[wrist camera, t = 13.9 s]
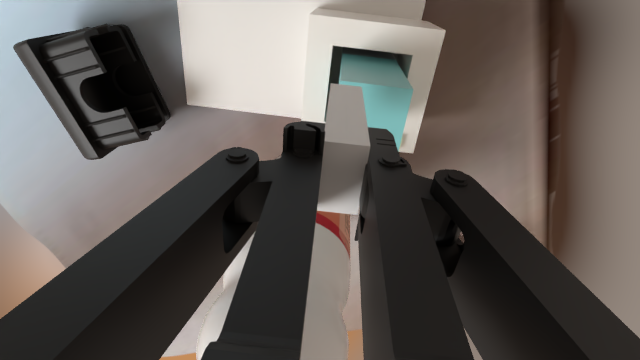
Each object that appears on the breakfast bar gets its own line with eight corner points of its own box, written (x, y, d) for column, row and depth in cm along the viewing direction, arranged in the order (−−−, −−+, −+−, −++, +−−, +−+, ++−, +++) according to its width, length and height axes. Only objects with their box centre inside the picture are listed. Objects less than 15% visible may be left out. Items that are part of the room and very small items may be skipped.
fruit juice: (288, 229, 41) (200, 593, 17) (248, 164, 37) (54, 521, 12) (362, 205, 38) (387, 591, 14) (328, 132, 34) (281, 502, 10)
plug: (342, 44, 29) (340, 80, 19) (390, 50, 29) (413, 89, 18) (337, 91, 31) (331, 147, 21) (380, 96, 31) (397, 155, 21)
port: (316, 7, 28) (308, 14, 22) (427, 21, 28) (447, 31, 22) (307, 114, 32) (299, 141, 27) (402, 125, 32) (413, 155, 27)
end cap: (57, 37, 31) (-9, 50, 26) (124, 17, 30) (70, 25, 24) (115, 136, 36) (70, 166, 30) (175, 122, 35) (140, 150, 29)
